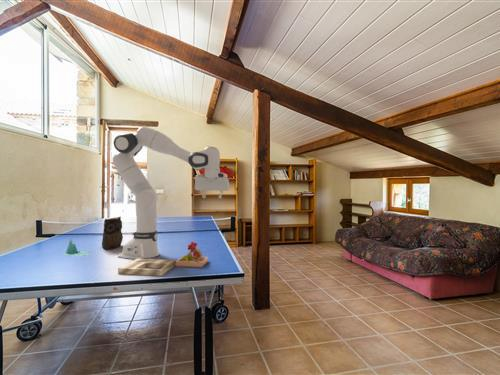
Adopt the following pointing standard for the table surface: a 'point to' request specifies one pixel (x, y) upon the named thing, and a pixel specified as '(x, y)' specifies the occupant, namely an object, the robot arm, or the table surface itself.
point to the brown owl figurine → (112, 233)
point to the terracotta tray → (191, 262)
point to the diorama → (74, 250)
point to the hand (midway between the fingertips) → (211, 198)
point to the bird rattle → (196, 255)
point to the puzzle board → (140, 264)
